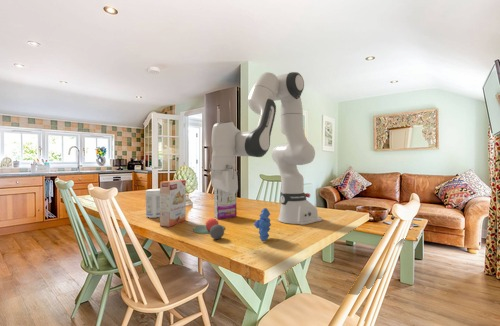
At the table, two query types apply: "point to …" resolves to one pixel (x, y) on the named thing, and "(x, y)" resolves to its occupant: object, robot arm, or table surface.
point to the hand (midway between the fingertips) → (223, 202)
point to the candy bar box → (224, 206)
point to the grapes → (263, 224)
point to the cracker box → (172, 202)
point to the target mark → (203, 229)
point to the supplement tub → (153, 203)
